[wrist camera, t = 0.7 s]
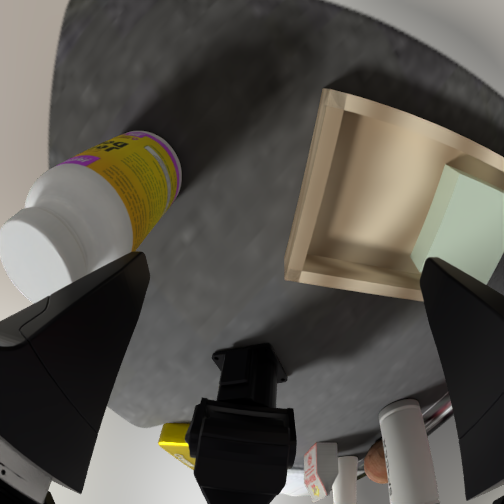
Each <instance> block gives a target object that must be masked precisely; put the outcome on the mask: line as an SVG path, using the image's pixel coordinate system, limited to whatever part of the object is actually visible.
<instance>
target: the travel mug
mask: <svg viewBox="0 0 504 504" xmlns="http://www.w3.org/2000/svg"><path fill="white" fill-rule="evenodd" d="M379 421H380V427H381V433H382V440H383V446H384V453H385V460H386V468H387V476H388V485H389V494H390V504H440V502H439V500H438V499H439V495H438V489H437V482H436V477H435V472H434V466H433V461H432V456H431V451H430V446H429V442H428V438H427V433H426V429H425V425H424V421H423V417H422V413H421V409H420V405H419V402H418V401H417V400H414V399H404V400H400V401H396V402H394V403H392V404H390V405H388V406H386V407H385V408H384V409H383V410H381V412H380V413H379Z"/></svg>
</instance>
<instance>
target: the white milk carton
mask: <svg viewBox="0 0 504 504" xmlns="http://www.w3.org/2000/svg"><path fill="white" fill-rule="evenodd" d="M338 473H339V470H338V452H337V443H320V442H316V443H315V444H314V445H313V447H312V448H311V449H310V450H309V451H308V452H307V453H306V454H305V455H304V484H305V486H306V488H307V490H308V492H309V494H310V496H311V498H312V502H317V501H319V500H321V499H323V498H325V497H327V496H328V495H329V494H330V490H331V488H332V485H333V483H334V481H335V479H336V477H337V475H338Z"/></svg>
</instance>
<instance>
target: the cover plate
mask: <svg viewBox="0 0 504 504" xmlns="http://www.w3.org/2000/svg"><path fill="white" fill-rule="evenodd" d="M503 253H504V190H503V189H501V188H499V187H496V186H494V185H492V184H490V183H488V182H486V181H484V180H481V179H479V178H477V177H475V176H472V175H470V174H468V173H465V172H463V171H461V170H458V169H456V168H453V167H451V166H448V165H446V164H445V166H444V169H443V172H442V175H441V178H440V181H439V184H438V187H437V190H436V193H435V196H434V198H433V201H432V204H431V206H430V209H429V212H428V214H427V217H426V219H425V222H424V225H423V227H422V229H421V232H420V234H419V237H418V239H417V241H416V244H415V246H414V248H413V251H412V253H411V255H410V257H411V259H412V260H413V262H414V264H415V265H416V267H417V269H418V270H419V272H422V270H423V267H424V263H425V260H426V259H427V258H428V257H439V258H441V259H442V260H444V261H446V262H448V263H450V264H451V265H453V266H455V267H457V268H458V269H460V270H462V271H464V272H465V273H467V274H469V275H470V276H472V277H474V278H475V279H477V280H479V281H480V282H482V283H484V284H485V285H487V283H488V281H489V279H490V277H491V276H492V274H493V272H494V270H495V268H496V266H497V264H498V262H499V261H500V259H501V257H502V255H503Z"/></svg>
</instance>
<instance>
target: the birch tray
mask: <svg viewBox="0 0 504 504" xmlns="http://www.w3.org/2000/svg"><path fill="white" fill-rule="evenodd" d="M445 164H446V165H448V166H451V167H453V168H456V169H458V170H461V171H463V172H465V173H468V174H470V175H472V176H475V177H477V178H479V179H481V180H484V181H486V182H488V183H490V184H492V185H494V186H496V187H499V188H501V189H503V190H504V157H502V156H500V155H499V154H497V153H495V152H493V151H491V150H489V149H487V148H486V147H484V146H482V145H480V144H478V143H476V142H474V141H472V140H470V139H468V138H466V137H463V136H461V135H459V134H457V133H455V132H453V131H451V130H448V129H446V128H444V127H441V126H439V125H437V124H434V123H432V122H430V121H427V120H425V119H422V118H420V117H417V116H414V115H412V114H409V113H406V112H404V111H401V110H398V109H395V108H392V107H389V106H386V105H383V104H380V103H377V102H374V101H371V100H368V99H364V98H361V97H358V96H354V95H351V94H347V93H343V92H340V91H336V90H332V89H324V88H323V90H322V95H321V99H320V104H319V109H318V114H317V119H316V123H315V128H314V133H313V137H312V142H311V147H310V151H309V156H308V160H307V165H306V169H305V173H304V178H303V182H302V186H301V191H300V195H299V199H298V204H297V208H296V212H295V216H294V220H293V224H292V229H291V233H290V237H289V241H288V245H287V249H286V253H285V257H284V261H285V280H288V281H294V282H300V283H306V284H313V285H319V286H325V287H331V288H337V289H344V290H350V291H356V292H363V293H369V294H376V295H383V296H389V297H396V298H403V299H410V300H417V301H424V300H423V296H422V292H421V288H420V277H421V273H422V272H419V270H418V269H417V267H416V265H415V264H414V262H413V260H412V259H411V257H410V255H411V253H412V251H413V248H414V246H415V244H416V241H417V239H418V237H419V234H420V232H421V229H422V227H423V225H424V222H425V219H426V217H427V214H428V212H429V209H430V206H431V204H432V201H433V198H434V196H435V193H436V190H437V187H438V184H439V181H440V178H441V175H442V172H443V169H444V166H445Z"/></svg>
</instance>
